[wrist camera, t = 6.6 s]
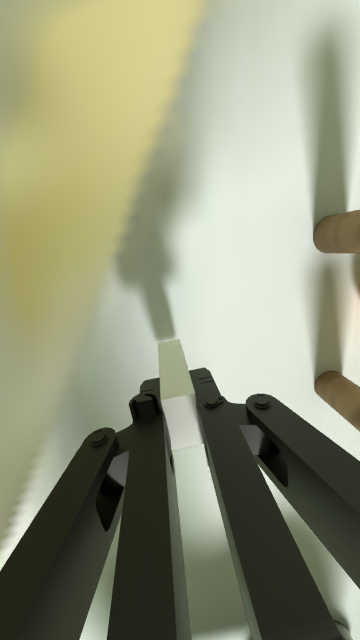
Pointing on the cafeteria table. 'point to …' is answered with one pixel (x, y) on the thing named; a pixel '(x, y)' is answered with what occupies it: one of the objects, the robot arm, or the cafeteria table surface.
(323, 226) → the post
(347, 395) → the post
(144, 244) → the cafeteria table surface
